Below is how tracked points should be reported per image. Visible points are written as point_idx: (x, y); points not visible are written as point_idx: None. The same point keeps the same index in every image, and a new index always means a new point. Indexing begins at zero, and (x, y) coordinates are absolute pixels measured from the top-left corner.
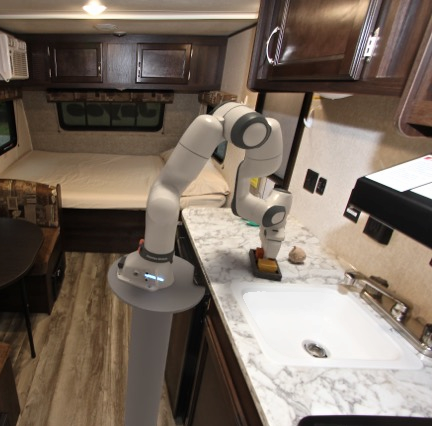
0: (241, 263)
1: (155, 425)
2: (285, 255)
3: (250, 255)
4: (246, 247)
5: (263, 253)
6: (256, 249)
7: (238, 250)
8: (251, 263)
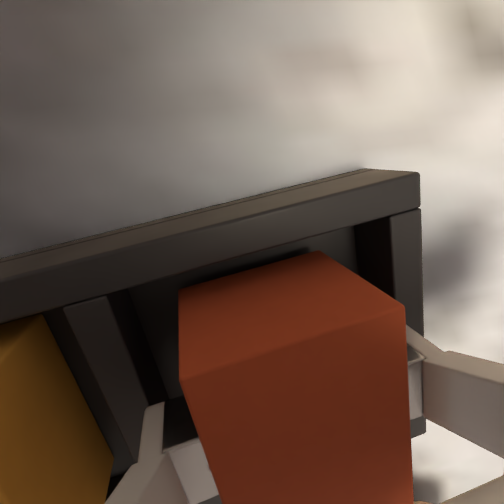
0: (14, 96)
1: None
2: (450, 452)
3: (268, 199)
4: (492, 124)
5: (207, 452)
6: (356, 291)
7: (387, 18)
8: (94, 237)
